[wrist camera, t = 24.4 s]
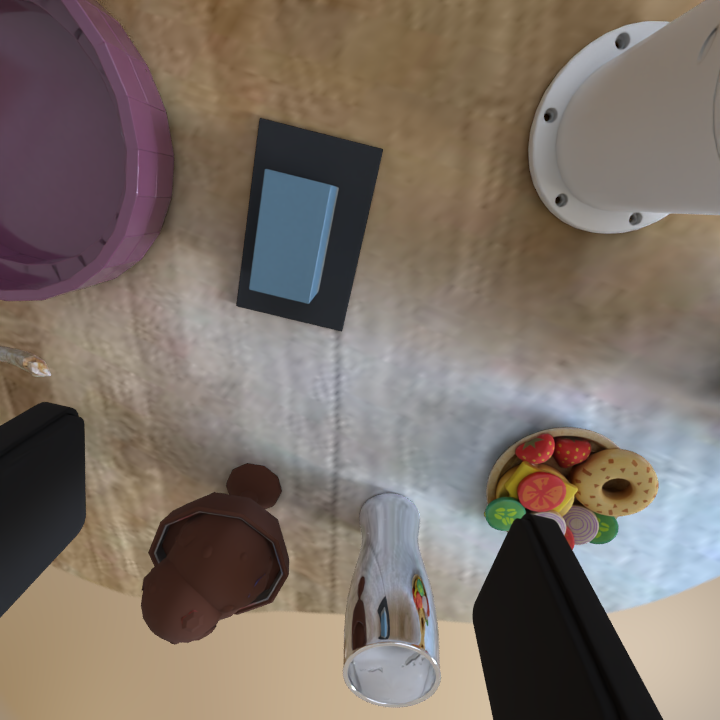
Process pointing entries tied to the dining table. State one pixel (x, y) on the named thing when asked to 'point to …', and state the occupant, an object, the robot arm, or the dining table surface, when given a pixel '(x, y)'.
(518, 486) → the toy food set
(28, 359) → the pine cone
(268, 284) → the block
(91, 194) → the serving bowl
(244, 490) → the ice cream bowl
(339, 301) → the rubber mat
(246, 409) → the dining table surface
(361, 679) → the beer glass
